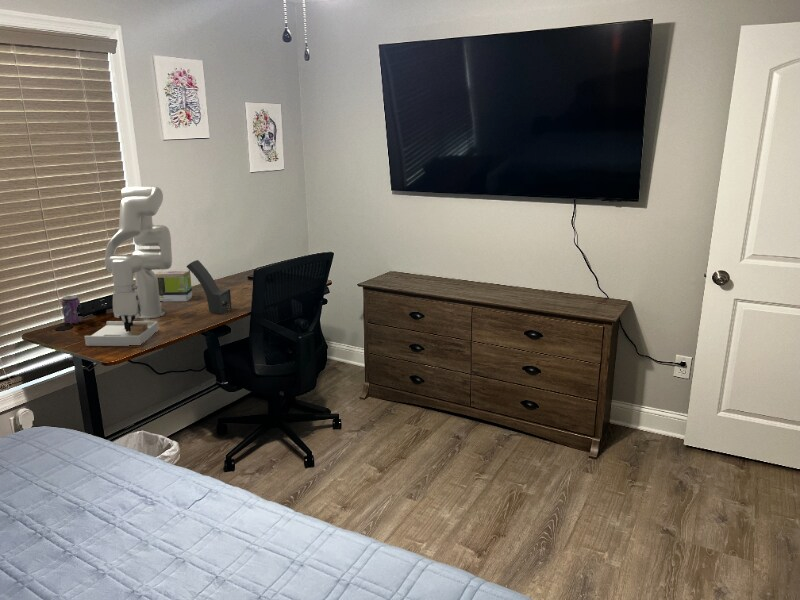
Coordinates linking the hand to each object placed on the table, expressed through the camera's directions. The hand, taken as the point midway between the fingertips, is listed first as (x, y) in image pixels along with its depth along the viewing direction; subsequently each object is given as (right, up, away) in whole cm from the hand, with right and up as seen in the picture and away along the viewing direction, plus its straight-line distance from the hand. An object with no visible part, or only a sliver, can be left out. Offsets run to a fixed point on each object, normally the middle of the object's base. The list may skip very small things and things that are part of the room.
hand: (129, 330), depth 254 cm
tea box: (-3, +13, +59) cm, 60 cm away
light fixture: (+22, +7, +40) cm, 46 cm away
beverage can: (-34, +2, +20) cm, 40 cm away
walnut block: (+5, -1, -1) cm, 5 cm away
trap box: (-3, -3, +1) cm, 4 cm away
